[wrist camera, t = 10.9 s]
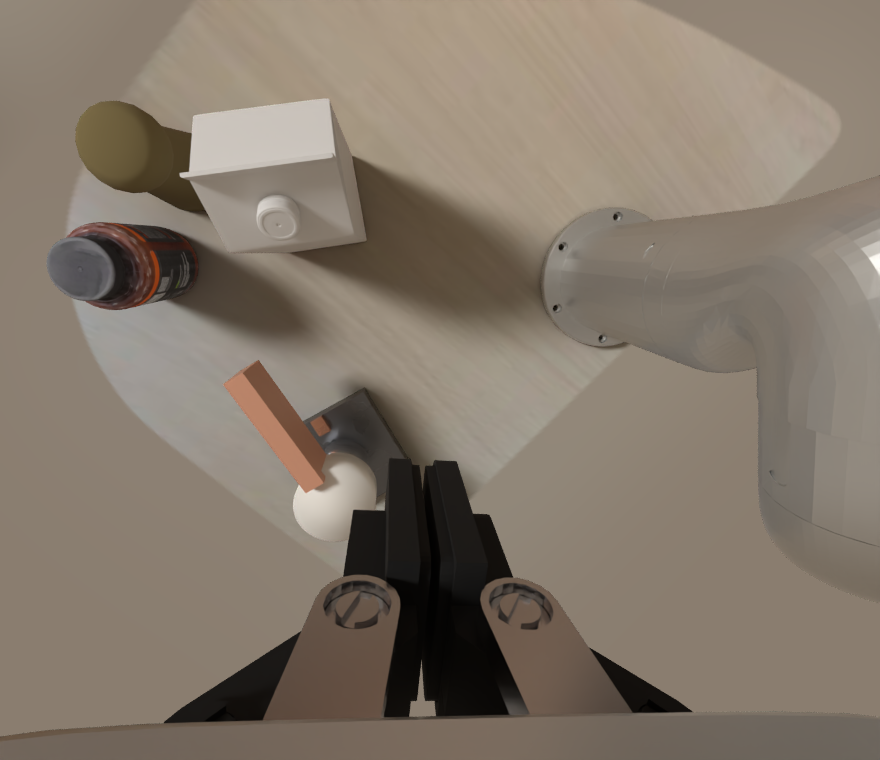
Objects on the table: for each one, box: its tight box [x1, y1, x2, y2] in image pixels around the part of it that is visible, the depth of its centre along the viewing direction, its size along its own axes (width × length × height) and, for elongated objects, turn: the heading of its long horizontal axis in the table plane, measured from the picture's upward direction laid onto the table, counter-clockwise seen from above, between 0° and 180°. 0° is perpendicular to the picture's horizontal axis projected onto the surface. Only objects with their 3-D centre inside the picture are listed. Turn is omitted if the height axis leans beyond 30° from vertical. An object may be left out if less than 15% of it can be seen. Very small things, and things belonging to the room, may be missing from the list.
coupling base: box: [303, 388, 408, 497], centre depth 43 cm, size 10×10×6 cm
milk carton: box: [180, 99, 367, 253], centre depth 31 cm, size 7×7×19 cm
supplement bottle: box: [47, 222, 198, 310], centre depth 34 cm, size 6×6×11 cm
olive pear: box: [75, 101, 205, 211], centre depth 33 cm, size 6×6×11 cm
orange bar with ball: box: [223, 360, 377, 541], centre depth 36 cm, size 16×6×4 cm, turn 30°
